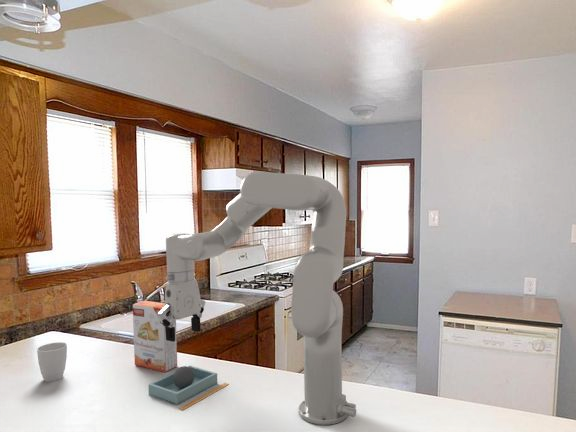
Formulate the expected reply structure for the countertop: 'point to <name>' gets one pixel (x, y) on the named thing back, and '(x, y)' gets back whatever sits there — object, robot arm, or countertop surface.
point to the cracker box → (152, 338)
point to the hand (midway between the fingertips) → (183, 335)
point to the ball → (183, 377)
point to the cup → (52, 360)
